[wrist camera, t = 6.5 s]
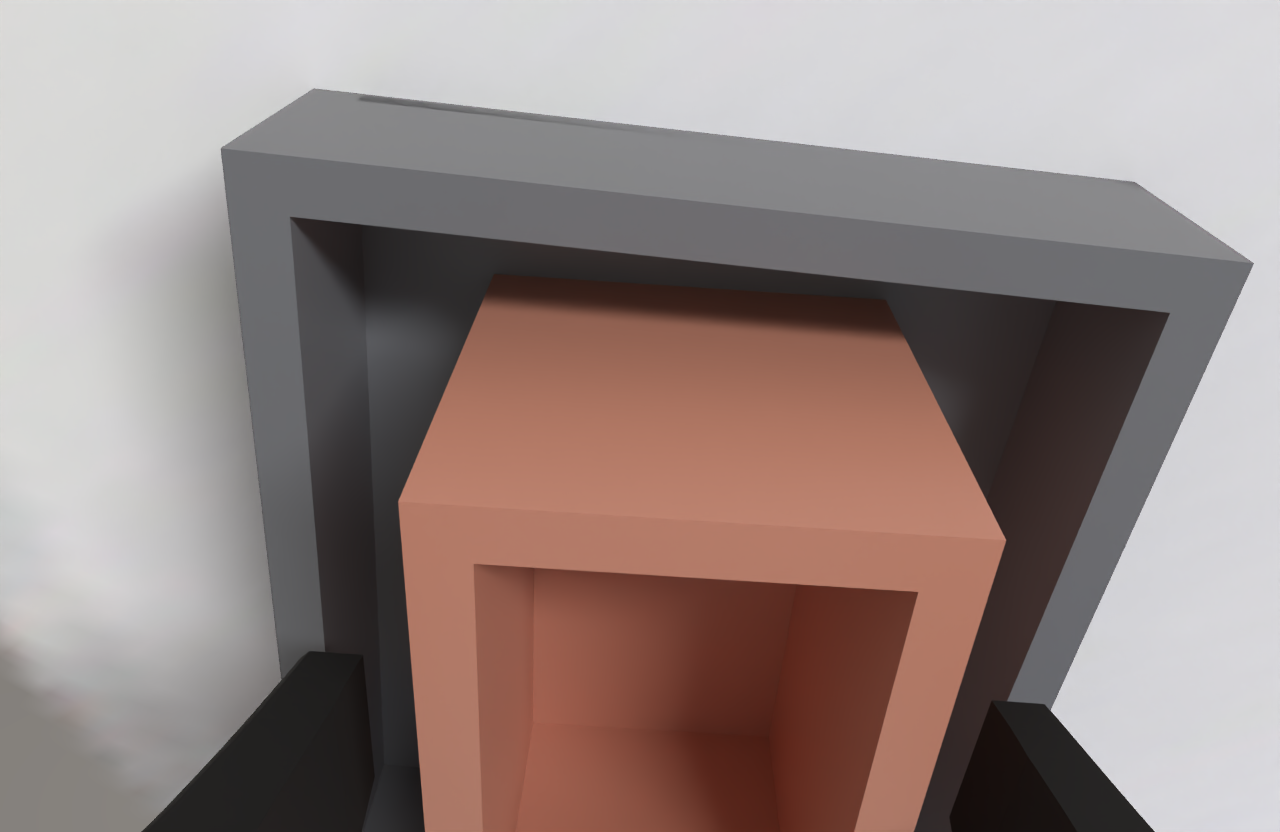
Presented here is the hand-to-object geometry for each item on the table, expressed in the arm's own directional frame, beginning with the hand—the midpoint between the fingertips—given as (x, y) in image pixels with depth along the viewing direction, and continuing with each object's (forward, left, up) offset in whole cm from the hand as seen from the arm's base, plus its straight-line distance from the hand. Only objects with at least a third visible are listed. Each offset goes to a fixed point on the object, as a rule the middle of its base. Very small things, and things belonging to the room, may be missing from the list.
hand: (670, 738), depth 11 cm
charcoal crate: (0, 0, -4) cm, 4 cm away
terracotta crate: (0, 0, -4) cm, 4 cm away
